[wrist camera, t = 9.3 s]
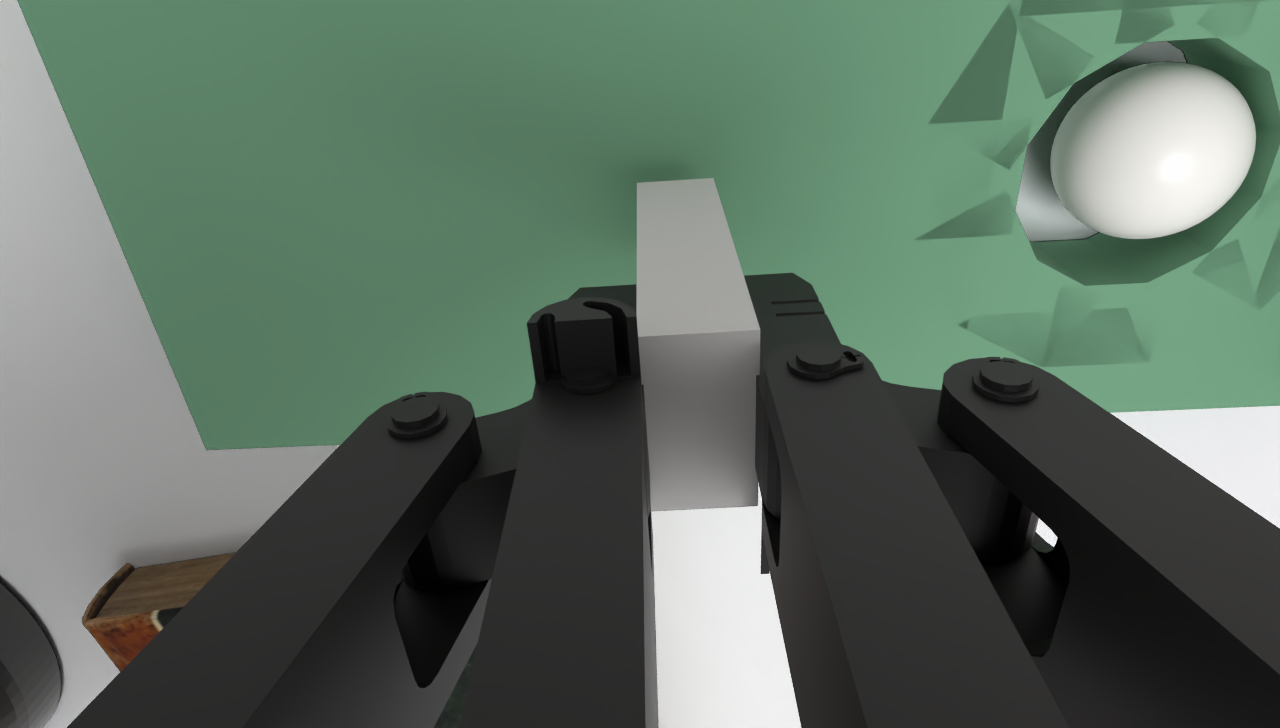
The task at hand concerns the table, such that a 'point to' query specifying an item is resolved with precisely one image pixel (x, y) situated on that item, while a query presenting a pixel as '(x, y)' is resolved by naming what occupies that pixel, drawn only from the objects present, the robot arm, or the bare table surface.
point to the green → (607, 187)
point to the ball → (1153, 150)
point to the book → (159, 592)
